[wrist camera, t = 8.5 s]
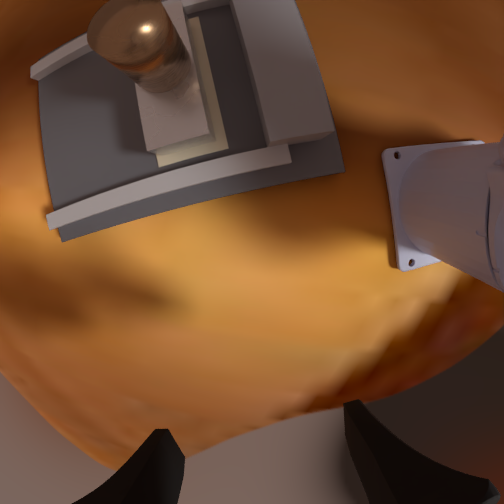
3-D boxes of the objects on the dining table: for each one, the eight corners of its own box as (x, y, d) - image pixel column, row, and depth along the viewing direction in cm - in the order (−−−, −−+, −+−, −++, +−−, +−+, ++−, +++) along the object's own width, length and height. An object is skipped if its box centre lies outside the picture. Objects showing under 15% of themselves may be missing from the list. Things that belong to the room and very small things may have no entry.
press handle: (189, 21, 13) (155, -57, 6) (216, 141, 15) (183, 105, 8) (141, 36, 13) (86, -28, 6) (162, 155, 15) (93, 137, 8)
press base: (282, -13, 14) (288, -51, 10) (338, 172, 17) (364, 169, 13) (49, 64, 15) (14, 48, 11) (73, 238, 18) (34, 252, 14)
